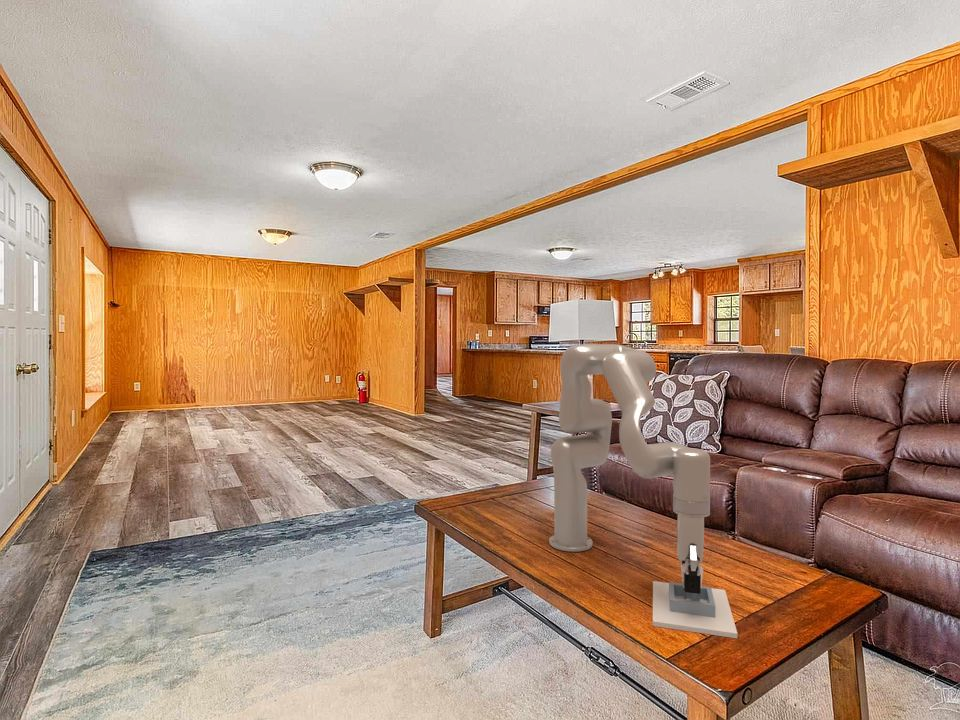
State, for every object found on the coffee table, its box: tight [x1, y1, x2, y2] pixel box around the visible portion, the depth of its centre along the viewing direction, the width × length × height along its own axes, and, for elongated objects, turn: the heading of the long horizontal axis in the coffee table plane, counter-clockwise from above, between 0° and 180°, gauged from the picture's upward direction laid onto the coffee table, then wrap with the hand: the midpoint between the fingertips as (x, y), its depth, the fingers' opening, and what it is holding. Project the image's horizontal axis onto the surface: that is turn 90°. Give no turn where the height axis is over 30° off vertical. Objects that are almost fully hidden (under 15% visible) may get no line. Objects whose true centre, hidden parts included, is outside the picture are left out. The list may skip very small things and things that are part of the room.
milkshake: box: [678, 559, 704, 602], centre depth 119 cm, size 4×5×10 cm
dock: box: [652, 580, 738, 640], centre depth 118 cm, size 20×16×4 cm
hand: (690, 582), depth 118 cm, fingers open, 9 cm apart
